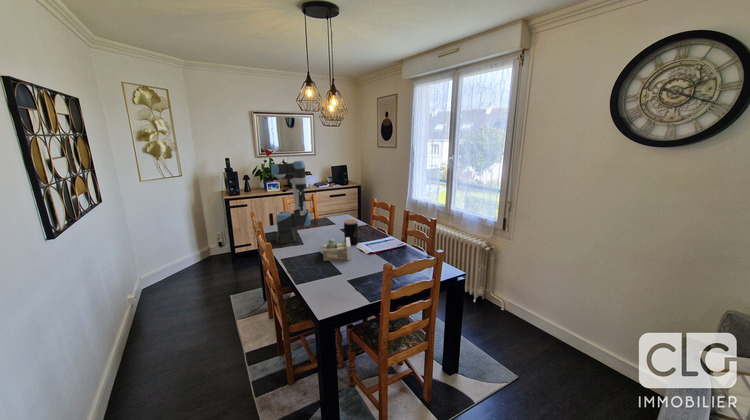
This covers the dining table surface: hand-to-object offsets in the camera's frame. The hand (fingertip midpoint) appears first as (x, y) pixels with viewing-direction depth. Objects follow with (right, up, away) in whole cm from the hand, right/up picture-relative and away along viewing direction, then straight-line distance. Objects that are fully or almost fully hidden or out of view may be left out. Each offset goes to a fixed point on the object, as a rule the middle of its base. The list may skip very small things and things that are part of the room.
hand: (303, 212), depth 210 cm
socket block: (+24, -30, -5) cm, 39 cm away
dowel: (+22, -29, -6) cm, 37 cm away
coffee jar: (+34, -24, +18) cm, 45 cm away
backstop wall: (+33, -30, -4) cm, 45 cm away
